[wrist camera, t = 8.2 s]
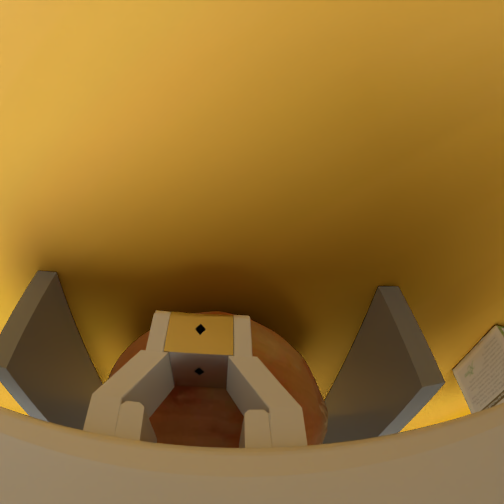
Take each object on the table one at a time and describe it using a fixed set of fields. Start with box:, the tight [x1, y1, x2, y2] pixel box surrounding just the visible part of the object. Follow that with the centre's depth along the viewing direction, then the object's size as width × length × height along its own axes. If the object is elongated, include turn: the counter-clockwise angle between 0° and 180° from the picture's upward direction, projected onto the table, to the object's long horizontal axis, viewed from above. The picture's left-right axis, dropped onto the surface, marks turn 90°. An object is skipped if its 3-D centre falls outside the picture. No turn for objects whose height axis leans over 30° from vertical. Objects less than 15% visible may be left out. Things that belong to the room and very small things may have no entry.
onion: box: [109, 311, 328, 448], centre depth 13 cm, size 10×10×10 cm
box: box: [0, 271, 445, 444], centre depth 17 cm, size 18×15×6 cm
